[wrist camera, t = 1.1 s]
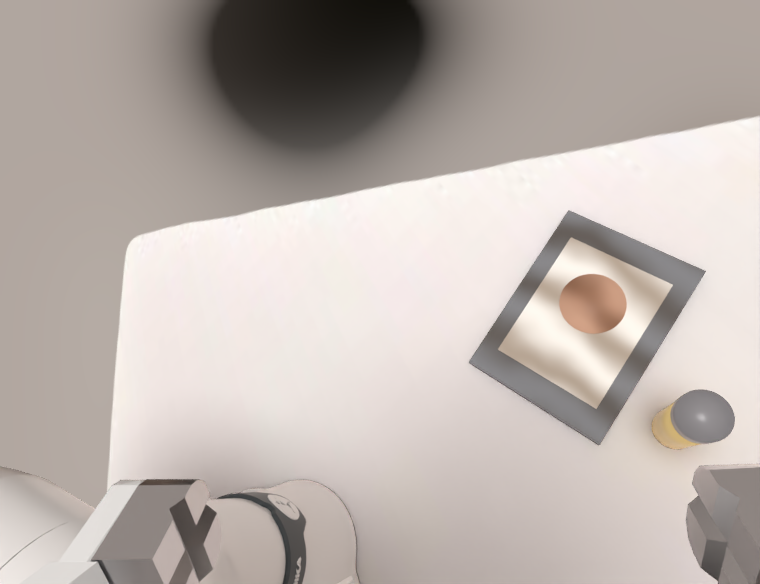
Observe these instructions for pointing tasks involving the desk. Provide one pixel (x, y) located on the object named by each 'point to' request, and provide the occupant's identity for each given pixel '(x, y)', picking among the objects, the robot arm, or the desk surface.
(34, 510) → the robot arm
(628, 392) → the grey metal tray
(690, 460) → the desk surface
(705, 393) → the marker
